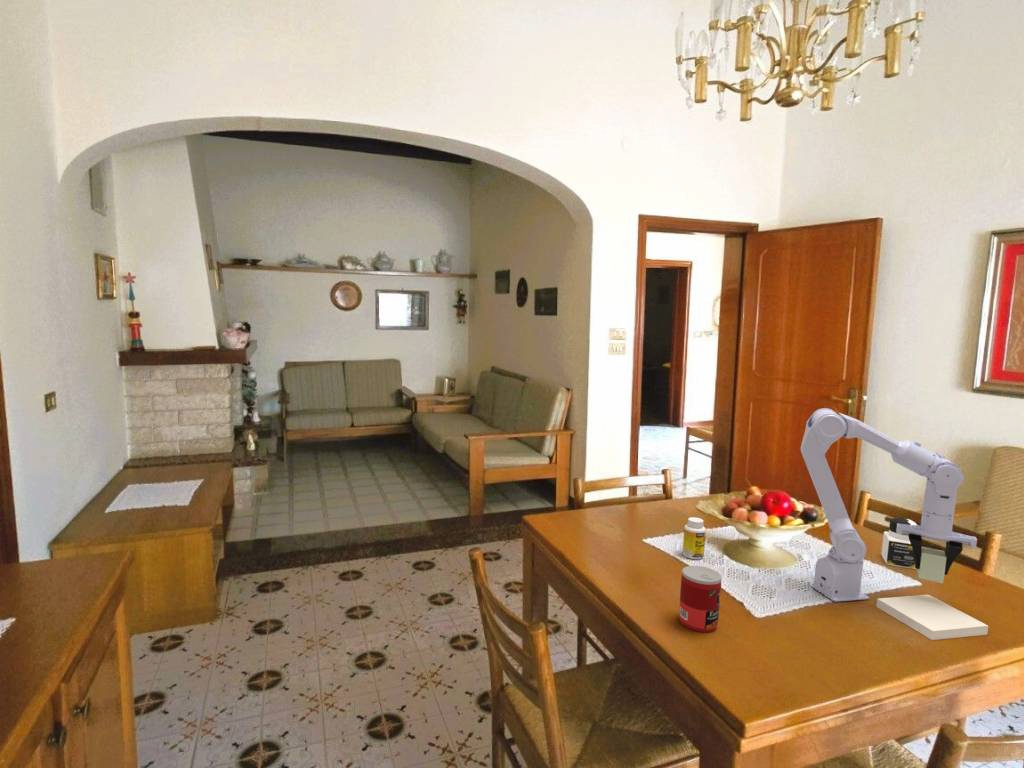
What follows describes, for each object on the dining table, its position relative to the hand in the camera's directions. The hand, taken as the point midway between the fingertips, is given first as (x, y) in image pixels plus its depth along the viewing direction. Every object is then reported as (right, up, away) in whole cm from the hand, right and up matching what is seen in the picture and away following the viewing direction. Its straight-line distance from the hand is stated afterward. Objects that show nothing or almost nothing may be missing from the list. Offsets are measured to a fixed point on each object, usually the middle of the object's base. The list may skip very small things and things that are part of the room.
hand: (930, 570), depth 133 cm
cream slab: (-4, -10, -5) cm, 12 cm away
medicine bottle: (+10, -7, +27) cm, 29 cm away
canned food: (-56, -8, -10) cm, 57 cm away
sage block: (0, -2, 0) cm, 2 cm away
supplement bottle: (-46, -5, +26) cm, 53 cm away
